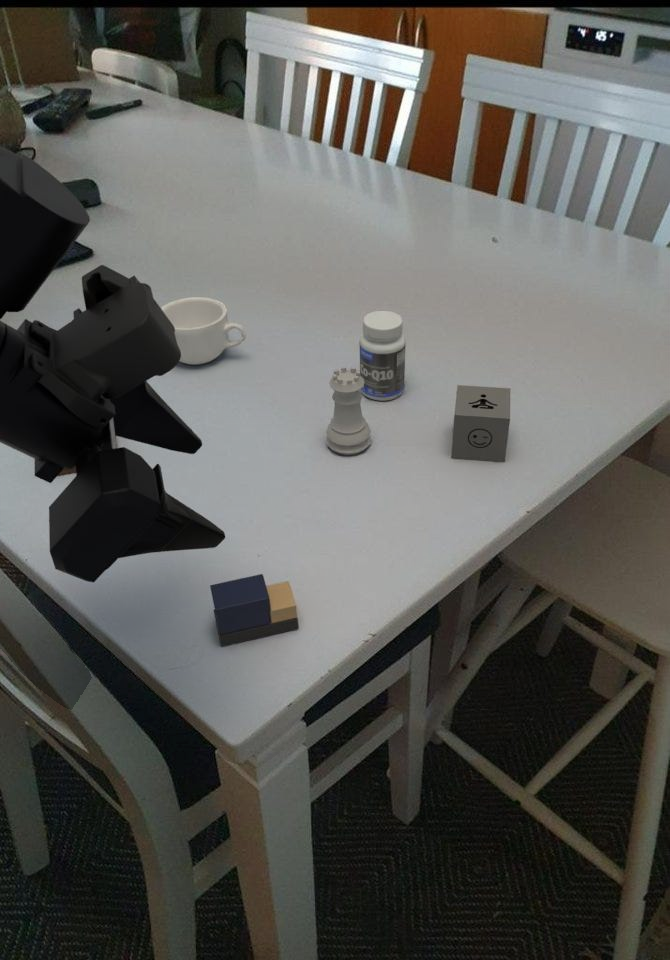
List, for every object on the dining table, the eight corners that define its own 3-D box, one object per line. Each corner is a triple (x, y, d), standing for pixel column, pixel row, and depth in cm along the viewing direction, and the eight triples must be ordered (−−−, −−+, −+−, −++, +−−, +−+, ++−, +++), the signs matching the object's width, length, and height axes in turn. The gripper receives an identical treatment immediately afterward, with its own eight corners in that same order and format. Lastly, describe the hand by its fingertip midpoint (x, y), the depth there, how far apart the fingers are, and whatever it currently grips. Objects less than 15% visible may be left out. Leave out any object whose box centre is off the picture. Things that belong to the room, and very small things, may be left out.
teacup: (153, 368, 91) (144, 326, 88) (179, 335, 97) (172, 294, 94) (237, 377, 89) (231, 334, 86) (258, 343, 95) (254, 301, 92)
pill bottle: (353, 397, 86) (351, 326, 80) (369, 374, 89) (368, 305, 84) (396, 405, 84) (397, 334, 79) (410, 382, 87) (412, 312, 82)
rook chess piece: (380, 442, 79) (380, 372, 74) (349, 463, 77) (347, 392, 72) (348, 424, 82) (345, 355, 77) (316, 444, 79) (312, 374, 74)
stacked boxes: (220, 647, 61) (213, 611, 58) (215, 619, 63) (208, 584, 60) (298, 629, 62) (295, 593, 59) (290, 602, 64) (287, 567, 61)
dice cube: (451, 457, 77) (454, 414, 74) (454, 427, 81) (457, 384, 78) (504, 462, 76) (510, 418, 73) (505, 430, 80) (510, 388, 77)
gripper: (71, 352, 33) (334, 504, 42) (61, 185, 46) (261, 328, 56) (-72, 528, 36) (199, 632, 46) (-42, 325, 50) (162, 437, 59)
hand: (208, 491), depth 52 cm, fingers open, 9 cm apart
